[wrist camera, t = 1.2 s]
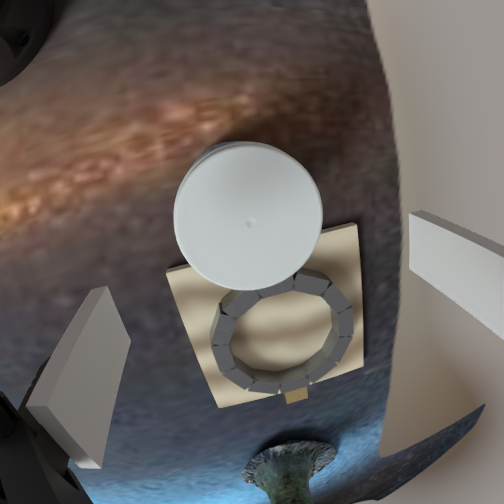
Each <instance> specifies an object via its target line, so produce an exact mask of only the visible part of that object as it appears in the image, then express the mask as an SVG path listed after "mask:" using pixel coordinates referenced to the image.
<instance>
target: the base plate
mask: <svg viewBox="0 0 504 504" xmlns="http://www.w3.org/2000/svg"><path fill="white" fill-rule="evenodd" d="M302 267H303V268H307V269H311V270H315V271H319V272H322V273H323V274H324V275H326V276H327V277H328V278H329V279H330V280H331V281H332V282H333V283H334V285H335V286H336V287H337V288H338V289H339V290H340V292H341V293H342V294H343V295H344V296H345V297H346V299H347V300H348V301H349V302H350V303H351V306H352V308H353V326H354V334H352V335H351V336H352V337H353V338H352V340H351V342H350V344H349V346H348V348H347V350H346V352H345V354H344V355H343V357H342V359H341V361H340V362H335V363H336V364H337V366H336V367H334V368H333V369H332V370H331V371H329V372H328V373H327V374H326V375H324V376H323V377H322V378H320V379H319V380H318V381H316V382H319V381H322V380H325V379H328V378H331V377H334V376H337V375H340V374H343V373H346V372H349V371H351V370H354V369H357V368H359V367H362V366H363V306H362V284H361V268H360V254H359V242H358V231H357V225H356V224H355V223H353V222H351V223H347V224H343V225H339V226H335V227H331V228H327V229H323V230H321V233H320V237H319V240H318V242H317V244H316V247H315V249H314V251H313V252H312V254H311V255H310V257H309V258H308V260H307V261H306V262H305V263H304V265H303V266H302ZM166 275H167V278H168V281H169V284H170V287H171V290H172V293H173V295H174V298H175V301H176V304H177V307H178V309H179V312H180V315H181V317H182V320H183V323H184V325H185V328H186V331H187V333H188V336H189V338H190V341H191V343H192V346H193V348H194V351H195V353H196V356H197V358H198V361H199V363H200V366H201V368H202V371H203V373H204V375H205V378H206V380H207V382H208V385H209V387H210V389H211V392H212V394H213V396H214V398H215V401H216V403H217V405H218V407H219V408H222V407H227V406H231V405H236V404H240V403H244V402H248V401H252V400H257V399H260V398H264V397H268V396H272V395H276V394H268V393H258V392H250V391H248V388H247V389H246V390H244V389H242V388H241V387H239V386H238V385H236V384H235V383H233V382H232V381H230V380H229V379H227V378H226V377H224V376H223V375H222V372H220V371H219V368H218V365H217V363H216V360H215V357H214V355H213V352H212V349H211V343H210V329H211V326H212V323H213V320H214V316H215V313H216V310H217V307H218V303H222V302H221V299H222V298H223V297H224V296H225V295H226V294H227V293H229V292H230V291H231V290H232V289H230V288H225V287H222V286H219V285H217V284H215V283H213V282H211V281H209V280H207V279H206V278H204V277H203V276H202V275H200V274H199V273H198V272H197V271H196V270H194V268H193V267H192V266H191V265H190V264H185V265H181V266H177V267H173V268H169V269H167V271H166ZM331 328H332V322H331V312H330V306H329V305H328V304H327V303H326V301H325V300H324V299H323V298H322V297H320V296H315V295H311V294H306V293H302V292H297V291H289V292H286V293H282V294H278V295H275V296H271V297H267V298H264V299H261V300H260V301H259V302H257V303H256V304H255V305H254V306H253V307H252V308H250V309H249V310H248V311H247V312H246V313H245V314H243V315H242V316H241V317H240V318H239V319H238V320H237V322H236V325H235V328H234V331H233V334H232V337H231V339H230V345H231V348H232V351H233V354H234V355H235V356H236V357H238V358H239V359H240V360H242V361H243V362H244V363H246V364H247V365H248V366H250V367H251V368H254V369H261V370H269V371H280V370H284V369H287V368H291V367H294V366H297V365H301V364H302V363H304V362H305V361H306V360H307V359H309V358H310V357H311V356H313V355H314V354H315V353H316V352H317V351H319V350H320V349H321V348H322V346H323V344H324V342H325V340H326V338H327V336H328V334H329V332H330V330H331ZM309 382H310V384H313V383H312V382H311V381H309ZM316 382H315V383H316ZM279 393H281V392H280V390H279V392H278V394H279Z"/></svg>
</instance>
